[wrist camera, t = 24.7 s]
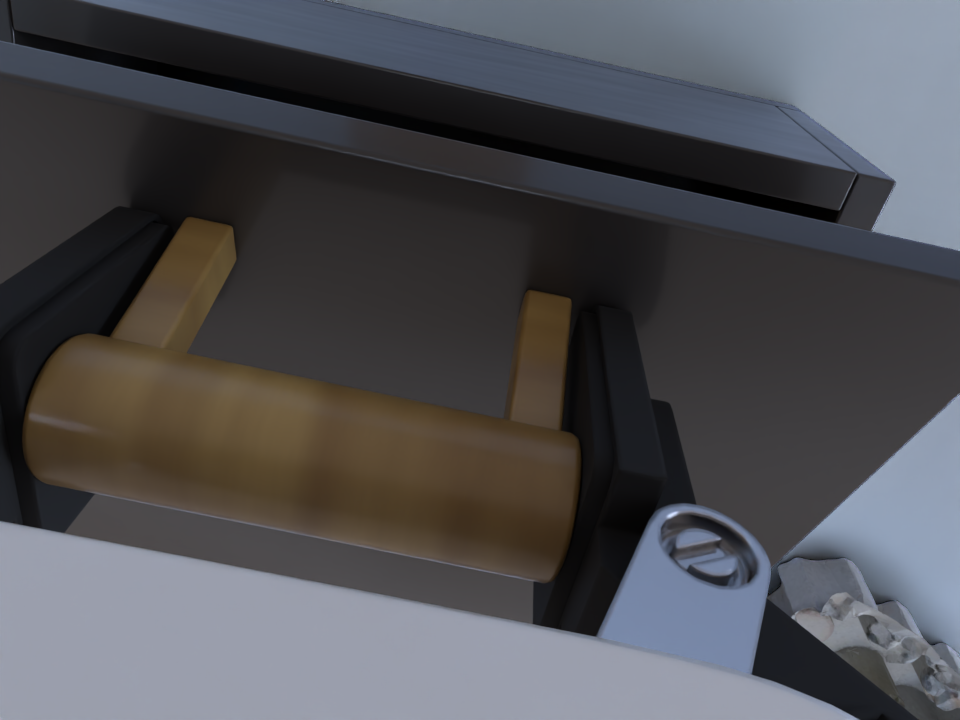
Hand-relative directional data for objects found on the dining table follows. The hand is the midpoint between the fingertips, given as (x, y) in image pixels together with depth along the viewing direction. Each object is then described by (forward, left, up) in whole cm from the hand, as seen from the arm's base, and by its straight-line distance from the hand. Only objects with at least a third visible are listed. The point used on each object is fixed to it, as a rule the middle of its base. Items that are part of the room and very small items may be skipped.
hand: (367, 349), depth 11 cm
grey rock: (-19, +17, -12) cm, 28 cm away
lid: (0, +3, -3) cm, 4 cm away
